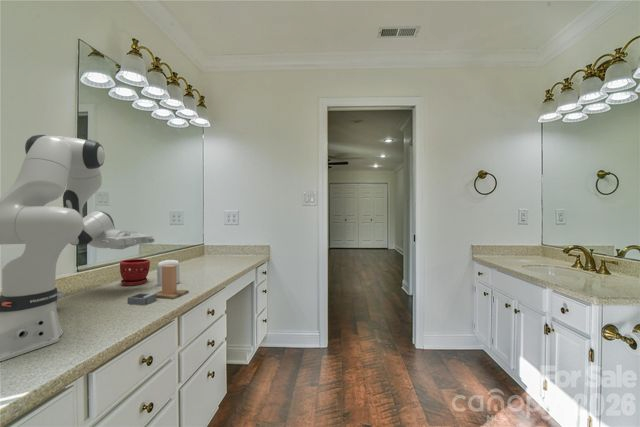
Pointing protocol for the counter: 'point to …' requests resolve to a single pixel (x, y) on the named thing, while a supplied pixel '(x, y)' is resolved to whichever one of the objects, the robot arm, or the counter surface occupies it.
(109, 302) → the counter surface
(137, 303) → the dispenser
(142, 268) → the plant pot
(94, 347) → the counter surface
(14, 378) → the counter surface
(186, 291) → the pad
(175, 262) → the photo printer
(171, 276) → the tan rectangular prism
